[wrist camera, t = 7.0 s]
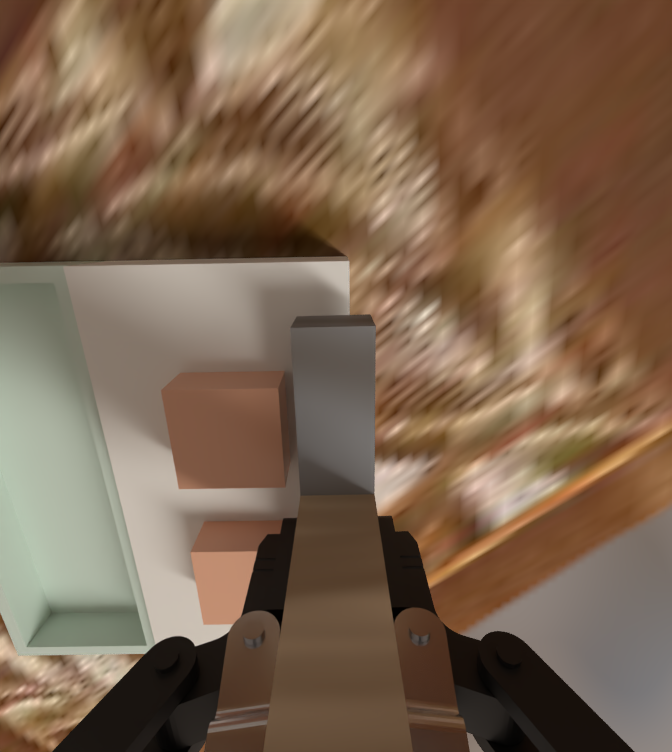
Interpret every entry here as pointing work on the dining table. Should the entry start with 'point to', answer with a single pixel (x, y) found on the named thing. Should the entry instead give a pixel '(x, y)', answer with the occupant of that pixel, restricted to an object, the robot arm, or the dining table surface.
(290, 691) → the scraper
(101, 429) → the tray
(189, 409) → the tile
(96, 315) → the stone plate
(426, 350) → the dining table surface
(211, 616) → the tile
